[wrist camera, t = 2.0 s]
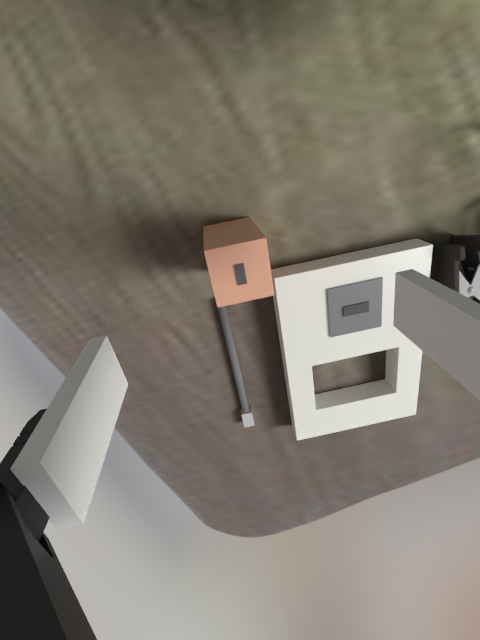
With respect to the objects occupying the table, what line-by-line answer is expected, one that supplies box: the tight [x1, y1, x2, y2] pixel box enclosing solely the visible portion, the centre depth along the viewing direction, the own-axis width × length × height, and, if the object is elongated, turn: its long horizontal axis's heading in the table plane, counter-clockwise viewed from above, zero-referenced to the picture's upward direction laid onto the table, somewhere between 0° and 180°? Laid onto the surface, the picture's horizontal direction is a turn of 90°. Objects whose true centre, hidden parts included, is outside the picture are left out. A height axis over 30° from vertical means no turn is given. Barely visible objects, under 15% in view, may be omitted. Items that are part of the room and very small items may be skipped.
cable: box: [218, 306, 254, 428], centre depth 33 cm, size 16×1×1 cm, turn 11°
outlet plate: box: [271, 238, 433, 441], centre depth 33 cm, size 20×14×3 cm
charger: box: [203, 217, 274, 308], centre depth 24 cm, size 4×4×8 cm
